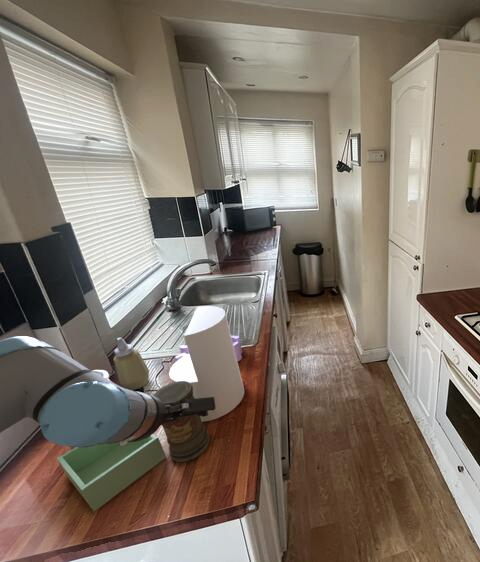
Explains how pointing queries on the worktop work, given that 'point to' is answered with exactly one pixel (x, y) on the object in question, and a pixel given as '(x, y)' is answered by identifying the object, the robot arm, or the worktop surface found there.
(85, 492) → the tub
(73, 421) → the robot arm
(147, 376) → the squeeze bottle
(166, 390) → the container
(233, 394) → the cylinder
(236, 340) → the clip
